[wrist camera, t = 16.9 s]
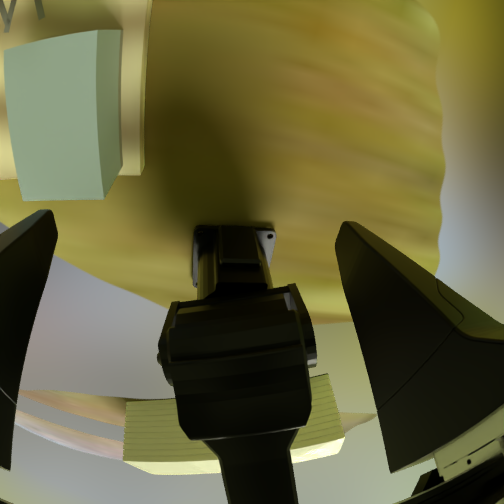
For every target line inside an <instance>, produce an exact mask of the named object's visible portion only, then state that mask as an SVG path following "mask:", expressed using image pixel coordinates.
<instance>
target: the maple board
mask: <svg viewBox="0 0 504 504" xmlns="http://www.w3.org/2000/svg"><path fill="white" fill-rule="evenodd" d="M152 1H153V0H0V180H4V179H18V177H17V173H16V168H15V163H14V157H13V152H12V146H11V139H10V132H9V125H8V117H7V107H6V96H5V81H4V50H6V49H9V48H13V47H16V46H20V45H24V44H27V43H31V42H35V41H39V40H44V39H48V38H53V37H58V36H63V35H68V34H74V33H80V32H86V31H94V30H123V45H122V66H121V133H122V156H123V166H122V168H121V170H120V172H119V173H118V175H141V173H142V171H143V169H144V166H145V160H144V116H145V84H146V66H147V51H148V39H149V28H150V18H151V10H152Z"/></svg>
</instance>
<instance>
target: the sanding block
mask: <svg viewBox="0 0 504 504" xmlns="http://www.w3.org/2000/svg"><path fill="white" fill-rule="evenodd" d="M122 45H123V30H94V31H86V32H80V33H74V34H68V35H63V36H58V37H53V38H48V39H44V40H39V41H35V42H31V43H27V44H24V45H20V46H16V47H13V48H9V49H6V50H4V81H5V96H6V107H7V117H8V125H9V132H10V139H11V146H12V152H13V157H14V163H15V168H16V173H17V177H18V182H19V186H20V191H21V195H22V199H23V201H42V200H104V199H105V197H106V195H107V193H108V191H109V189H110V188H111V186H112V184H113V182H114V180H115V179H116V177H117V175H118V173H119V172H120V170H121V168H122V166H123V156H122V133H121V66H122Z"/></svg>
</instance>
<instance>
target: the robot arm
mask: <svg viewBox="0 0 504 504" xmlns="http://www.w3.org/2000/svg"><path fill="white" fill-rule="evenodd" d="M198 231H202V233H198ZM268 234H272V235H271V236H267V235H268ZM57 239H58V231H57V227H56V223H55V219H54V215H53V212H52V211H51V210H49V209H44V210H38V211H37V212H35V213H33V214H32V215H30V216H28V217H27V218H25V219H23V220H22V221H20V222H18V223H17V224H15V225H14V226H12V227H10V228H9V229H8V230H6V231H4V232H3V233H1V234H0V468H2V469H5V470H7V471H10V468H11V454H12V439H13V430H14V421H15V413H16V404H17V398H18V392H19V386H20V381H21V375H22V370H23V365H24V361H25V356H26V352H27V347H28V343H29V339H30V335H31V331H32V328H33V324H34V320H35V317H36V313H37V310H38V307H39V303H40V300H41V297H42V294H43V291H44V288H45V284H46V281H47V278H48V274H49V270H50V266H51V262H52V258H53V254H54V250H55V247H56V243H57ZM275 240H276V232H275V230H274V229H271V228H254V227H246V226H224V225H222V226H208V225H198V226H196V227H195V229H194V246H193V286H194V287H196V288H197V300H193V301H185V302H180V301H175V302H172V303H171V306H170V309H169V311H168V314H167V317H166V320H165V323H164V326H163V329H162V333H161V336H160V339H159V342H158V349H159V353H158V354H157V361H158V363H159V364H160V365H161V366H162V368H163V372H164V375H165V378H166V380H167V381H168V383H169V384H170V385H171V386H173V387H174V392H175V398H176V405H177V413H178V421H179V426H180V427H181V429H182V430H183V432H184V433H185V434H186V436H187V437H188V438H189V439H190V440H191V441H198V440H201V441H202V442H203V443H204V444H205V445H206V446H207V447H208V448H209V449H210V450H211V451H212V452H213V453H214V454H215V455H216V456H217V457H218V460H219V464H220V468H221V473H222V478H223V482H224V487H225V491H226V496H227V500H228V504H298V497H297V491H296V485H295V478H294V472H293V465H292V459H291V452H290V447H291V445H292V443H293V441H294V439H295V437H296V435H297V433H298V431H299V429H300V428H302V427H305V426H306V424H307V422H308V419H309V416H310V413H311V410H312V405H311V402H312V393H311V385H310V378H309V371H308V368H312V367H316V364H317V351H316V342H315V336H314V331H313V327H312V322H311V319H310V316H309V313H308V311H307V308H306V306H305V304H304V302H303V299H302V297H301V295H300V293H299V290H298V288H297V286H296V284H295V283H293V284H288V285H287V286H284V287H278V288H273V284H272V280H271V275H270V271H269V267H270V262H271V258H272V253H273V249H274V245H275ZM335 251H336V256H337V261H338V265H339V270H340V275H341V280H342V285H343V289H344V293H345V296H346V299H347V303H348V306H349V309H350V312H351V316H352V319H353V322H354V325H355V329H356V333H357V336H358V340H359V343H360V347H361V350H362V354H363V357H364V361H365V365H366V369H367V372H368V376H369V380H370V384H371V388H372V392H373V396H374V400H375V405H376V408H377V414H378V418H379V422H380V427H381V431H382V436H383V441H384V445H385V450H386V455H387V460H388V465H389V470H390V473H395V472H398V471H400V470H403V469H406V468H409V467H412V466H414V465H417V464H419V463H422V462H424V461H427V460H429V459H432V458H434V459H435V463H436V466H437V468H436V469H434V470H431V471H430V472H427V473H425V474H423V475H421V476H420V478H419V481H418V483H417V485H416V487H415V489H414V491H413V493H412V495H411V497H409V498H407V499H404V500H402V501H399V502H397V503H394V504H504V324H501V323H499V322H498V321H496V320H494V319H493V318H492V317H490V316H489V315H488V314H486V313H485V312H483V311H482V310H481V309H479V308H478V307H476V306H475V305H473V304H472V303H471V302H469V301H468V300H466V299H465V298H463V297H462V296H461V295H459V294H458V293H456V292H455V291H454V290H452V289H451V288H450V287H448V286H447V285H446V284H444V283H443V282H442V281H440V280H439V279H437V278H436V277H435V276H433V275H432V274H431V273H429V272H428V271H427V270H425V269H424V268H423V267H421V266H420V265H418V264H417V263H416V262H414V261H413V260H411V259H410V258H409V257H407V256H406V255H404V254H403V253H401V252H400V251H399V250H397V249H396V248H394V247H393V246H391V245H390V244H388V243H387V242H385V241H384V240H383V239H381V238H380V237H378V236H377V235H375V234H374V233H372V232H371V231H369V230H368V229H366V228H365V227H363V226H362V225H360V224H358V223H357V222H353V221H344V222H343V223H342V225H341V227H340V230H339V233H338V236H337V239H336V242H335ZM0 504H13V503H10V502H8V501H5V500H3V499H1V498H0Z"/></svg>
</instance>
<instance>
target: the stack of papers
mask: <svg viewBox="0 0 504 504" xmlns="http://www.w3.org/2000/svg"><path fill="white" fill-rule="evenodd" d="M309 378H310V385H311V393H312V402H311V405H312V410H311V413H310V416H309V419H308V422H307V424H306V426H305V427H302V428H300V429H299V431H298V433H297V435H296V437H295V439H294V441H293V443H292V445H291V447H290V452H291V459H292V463H297V462H302V461H307V460H311V459H316V458H320V457H325V456H329V455H333V454H337V453H339V451H340V449H341V446H342V444H343V441H344V439H345V435H344V432H343V427H342V426H341V425H342V423H341V420H340V416H339V414H338V413H339V412H338V408H337V405H336V402H335V397H334V394H333V391H332V386H331V385H330V384H331V383H330V380H329V376H328V373H326V374H322V375H318V376H313V377H309ZM126 406H127V407H126V411H127V412H126V415H125V416H126V417H125V422H126V423H125V427H126V428H125V429H124V432H125V434H124V438H125V439H124V444H125V445H123V449H125V450H123V455H124V456H123V461H124V462H126V463H128V464H130V465H133V466H135V467H137V468H139V469H142V470H144V471H146V472H149V473H151V474H159V475H162V474H163V475H168V474H169V475H179V474H180V475H181V474H207V473H221V468H220V464H219V460H218V457H217V456H216V455H215V454H214V453H213V452H212V451H211V450H210V449H209V448H208V447H207V446H206V445H205V444H204V443H203V442H202V441H201V440H198V441H191V440H190V439H189V438H188V437H187V436H186V434H185V433H184V432H183V430H182V429H181V427H180V426H179V421H178V413H177V405H176V399H169V398H168V399H167V400H153V401H133V402H127V403H126Z"/></svg>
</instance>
